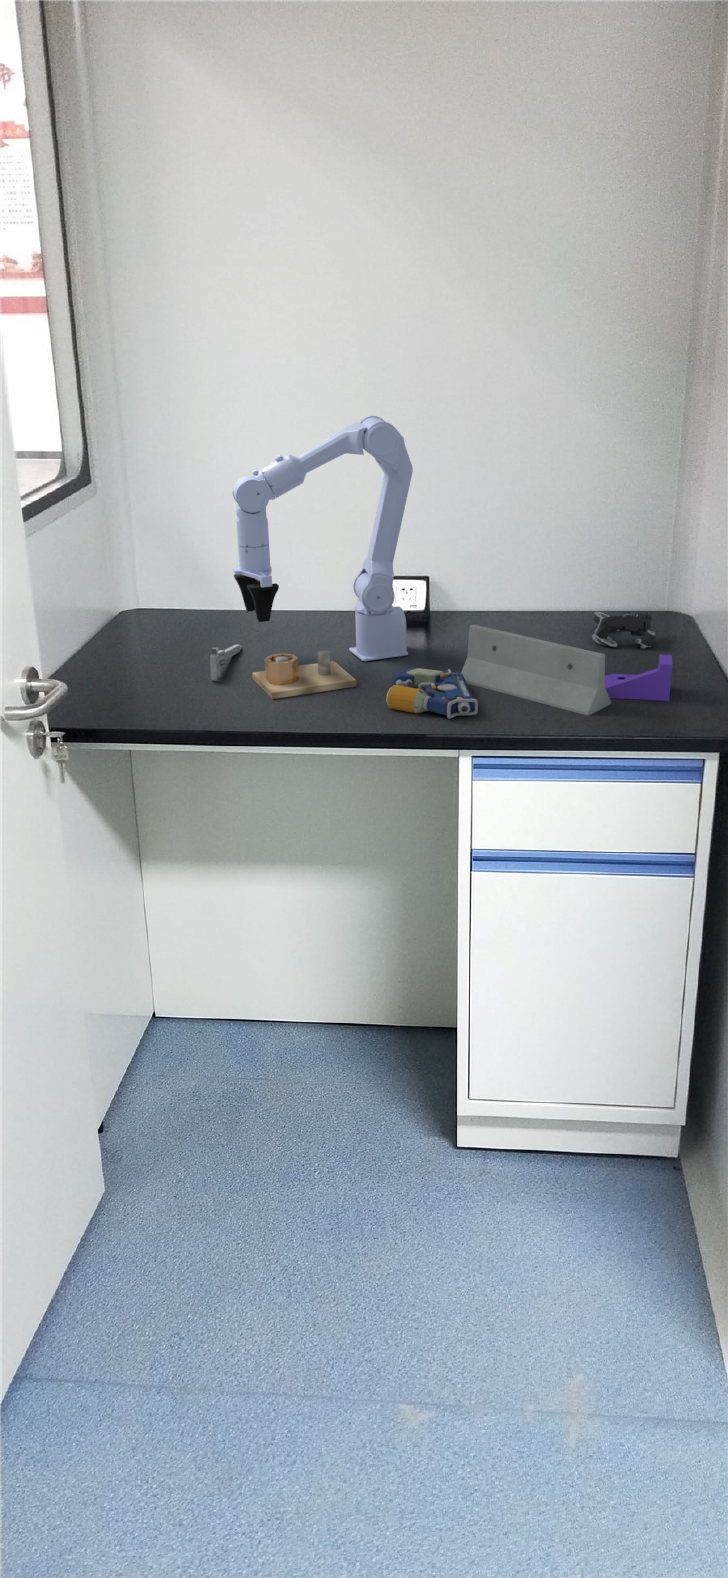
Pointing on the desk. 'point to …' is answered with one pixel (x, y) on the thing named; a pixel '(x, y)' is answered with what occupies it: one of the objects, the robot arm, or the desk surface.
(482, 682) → the barrier
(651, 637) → the bicycle component
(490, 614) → the desk surface
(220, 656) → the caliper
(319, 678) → the wooden peg board
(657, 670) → the bracket
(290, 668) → the ring
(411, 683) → the toy blaster gun
